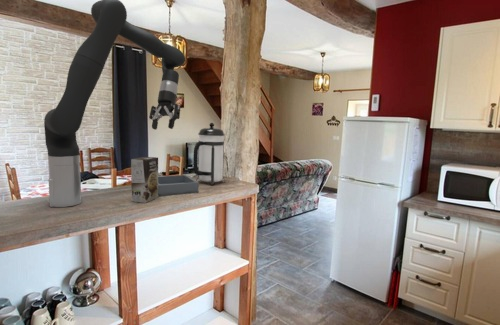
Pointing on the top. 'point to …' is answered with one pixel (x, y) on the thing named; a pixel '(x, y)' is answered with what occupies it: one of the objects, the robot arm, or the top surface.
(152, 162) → the coffee box
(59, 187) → the robot arm
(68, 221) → the top surface
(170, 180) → the tray
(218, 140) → the coffee press
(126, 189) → the top surface
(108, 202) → the top surface
